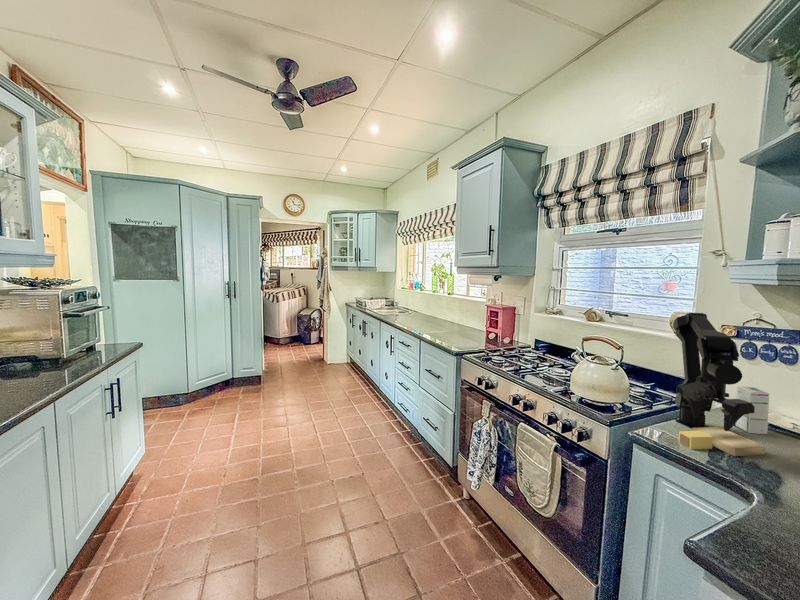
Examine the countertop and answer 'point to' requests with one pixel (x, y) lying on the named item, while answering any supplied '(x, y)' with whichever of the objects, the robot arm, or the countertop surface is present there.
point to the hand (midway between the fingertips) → (710, 424)
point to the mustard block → (695, 439)
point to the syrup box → (759, 418)
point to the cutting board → (732, 442)
